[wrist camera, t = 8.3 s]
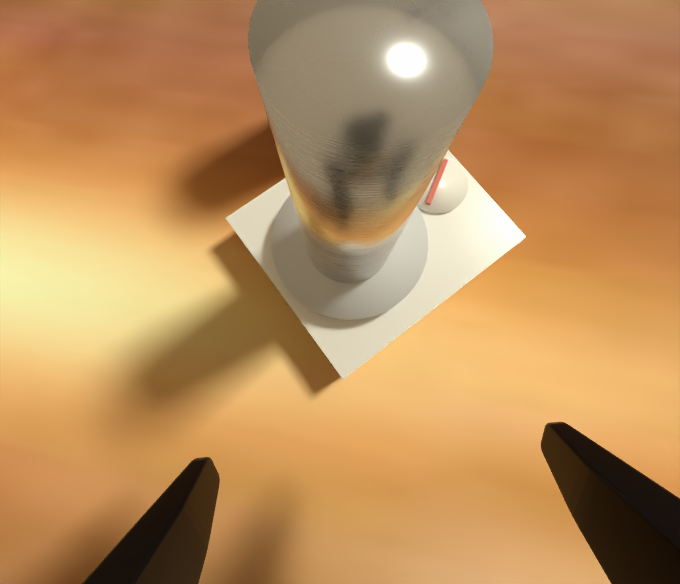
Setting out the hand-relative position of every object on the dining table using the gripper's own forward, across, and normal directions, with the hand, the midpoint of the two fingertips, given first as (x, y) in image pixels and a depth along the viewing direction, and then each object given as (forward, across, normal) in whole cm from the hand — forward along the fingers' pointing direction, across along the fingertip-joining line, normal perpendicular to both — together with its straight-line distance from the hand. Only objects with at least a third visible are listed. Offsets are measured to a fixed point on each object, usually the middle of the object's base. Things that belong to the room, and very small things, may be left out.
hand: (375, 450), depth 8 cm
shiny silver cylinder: (+12, 0, -2) cm, 12 cm away
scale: (+15, -2, -1) cm, 15 cm away
